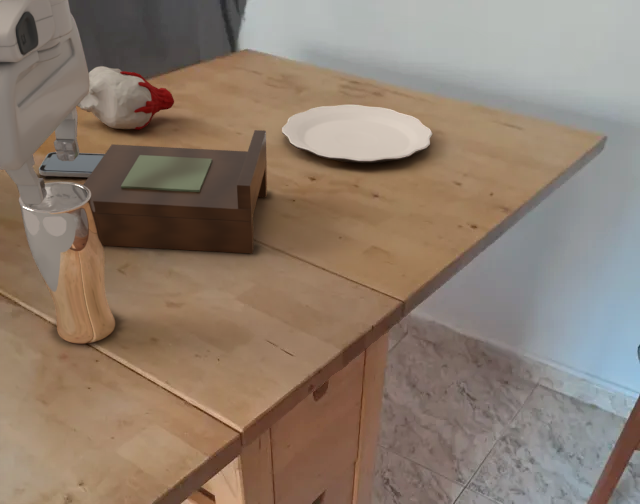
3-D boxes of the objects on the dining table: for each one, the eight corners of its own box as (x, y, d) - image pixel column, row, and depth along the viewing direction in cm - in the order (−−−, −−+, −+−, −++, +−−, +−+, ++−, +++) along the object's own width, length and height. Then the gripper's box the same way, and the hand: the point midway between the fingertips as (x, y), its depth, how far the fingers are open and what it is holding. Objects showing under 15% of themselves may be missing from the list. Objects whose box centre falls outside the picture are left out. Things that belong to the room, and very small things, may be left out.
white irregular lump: (75, 119, 118) (156, 116, 126) (99, 140, 112) (184, 135, 119) (70, 61, 113) (156, 62, 120) (95, 80, 106) (184, 79, 114)
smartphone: (140, 175, 102) (36, 171, 101) (141, 181, 103) (38, 177, 102) (147, 155, 107) (48, 151, 106) (147, 161, 108) (50, 157, 107)
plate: (308, 178, 105) (309, 166, 104) (266, 121, 122) (266, 110, 121) (455, 162, 111) (457, 151, 110) (395, 110, 129) (396, 100, 127)
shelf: (82, 244, 88) (66, 176, 82) (118, 185, 101) (107, 122, 95) (252, 253, 88) (250, 185, 82) (267, 193, 101) (265, 130, 95)
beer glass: (132, 319, 76) (108, 189, 66) (92, 353, 72) (59, 219, 61) (82, 303, 78) (51, 175, 68) (39, 335, 74) (-1, 202, 63)
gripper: (19, -22, 62) (56, 135, 71) (-91, 39, 47) (-26, 227, 56) (89, -19, 62) (116, 138, 71) (1, 43, 47) (50, 231, 56)
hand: (53, 178), depth 63 cm, fingers open, 8 cm apart
